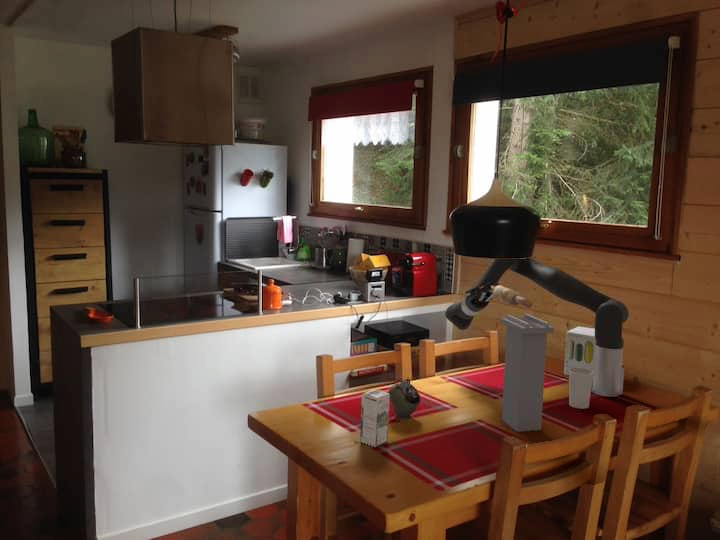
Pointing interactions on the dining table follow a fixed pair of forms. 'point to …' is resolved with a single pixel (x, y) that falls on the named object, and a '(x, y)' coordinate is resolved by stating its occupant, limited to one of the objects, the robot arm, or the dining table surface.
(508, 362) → the stand
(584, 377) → the cup
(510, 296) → the rolling pin
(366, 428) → the syrup box
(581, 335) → the supplement box
